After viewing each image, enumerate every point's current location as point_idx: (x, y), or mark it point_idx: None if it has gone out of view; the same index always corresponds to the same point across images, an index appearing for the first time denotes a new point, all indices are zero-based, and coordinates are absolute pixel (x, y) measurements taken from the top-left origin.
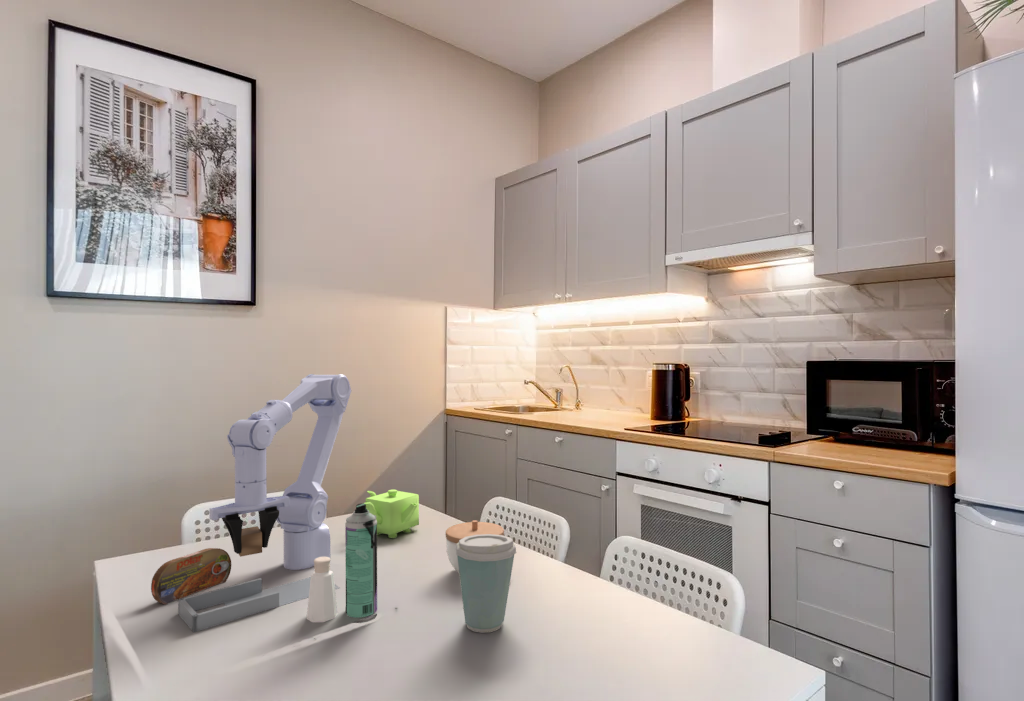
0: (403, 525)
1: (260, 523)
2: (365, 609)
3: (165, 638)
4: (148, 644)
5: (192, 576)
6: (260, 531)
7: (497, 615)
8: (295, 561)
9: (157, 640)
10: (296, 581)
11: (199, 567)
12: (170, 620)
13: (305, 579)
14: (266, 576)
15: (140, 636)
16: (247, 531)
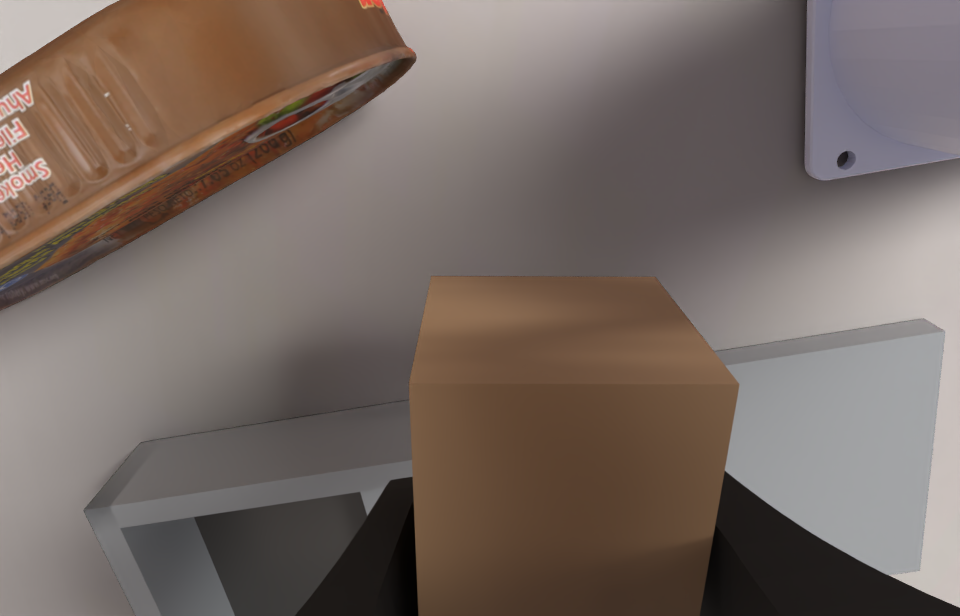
0: None
1: (757, 608)
2: None
3: (117, 596)
4: (59, 612)
5: (104, 214)
6: None
7: None
8: (919, 137)
9: (88, 597)
10: (781, 367)
11: (125, 195)
12: (104, 434)
13: (839, 362)
14: (677, 40)
15: (2, 529)
16: (541, 560)
